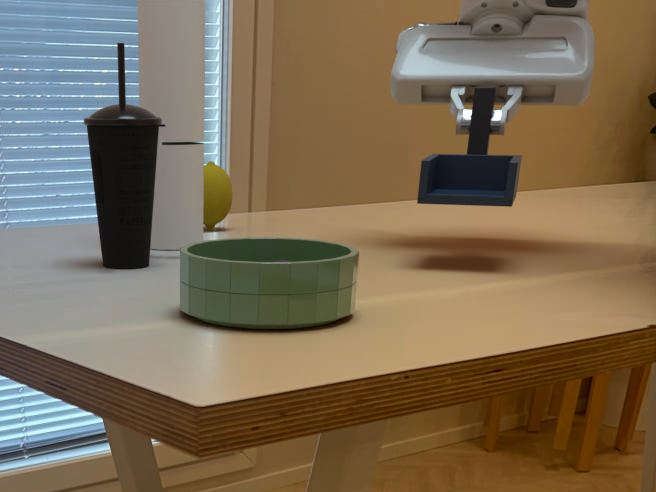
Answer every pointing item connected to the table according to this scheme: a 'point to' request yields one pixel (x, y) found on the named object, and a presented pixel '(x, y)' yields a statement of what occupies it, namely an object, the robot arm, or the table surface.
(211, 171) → the lemon
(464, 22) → the robot arm
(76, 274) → the table surface
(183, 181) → the cylindrical container
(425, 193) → the scoop
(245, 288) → the bowl
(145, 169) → the drinking cup
